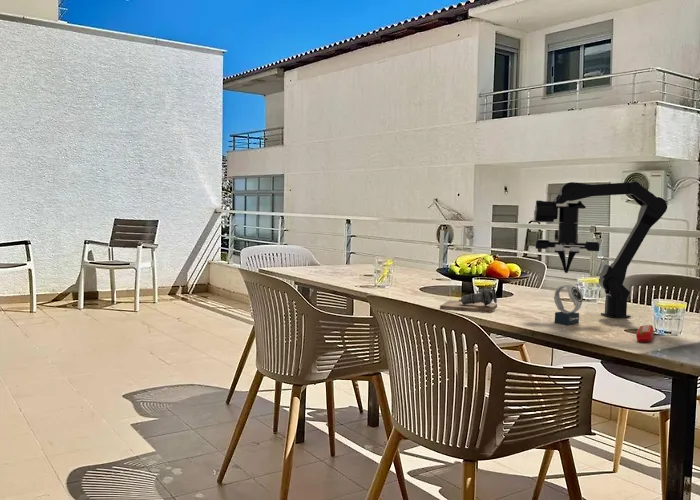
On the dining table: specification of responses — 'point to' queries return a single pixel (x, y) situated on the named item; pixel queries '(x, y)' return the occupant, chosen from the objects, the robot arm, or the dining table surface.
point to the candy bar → (645, 333)
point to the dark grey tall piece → (480, 297)
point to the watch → (563, 316)
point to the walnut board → (468, 306)
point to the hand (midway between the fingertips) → (566, 272)
